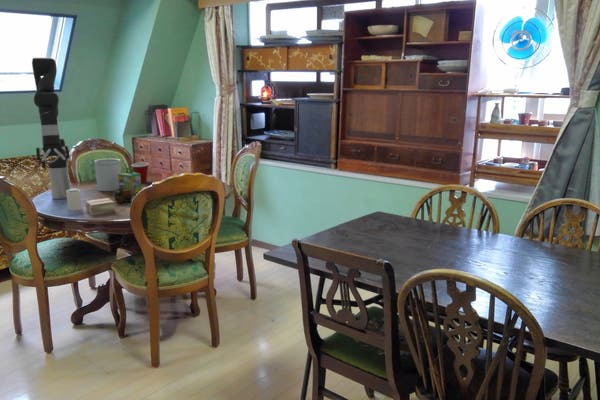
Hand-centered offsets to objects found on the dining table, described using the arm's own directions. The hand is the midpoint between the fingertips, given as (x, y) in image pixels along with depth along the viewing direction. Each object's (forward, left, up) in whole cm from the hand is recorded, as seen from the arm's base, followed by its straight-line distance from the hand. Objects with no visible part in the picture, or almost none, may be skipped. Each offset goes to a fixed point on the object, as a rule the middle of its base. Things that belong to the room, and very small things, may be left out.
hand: (54, 168), depth 242 cm
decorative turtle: (-24, +22, -23) cm, 40 cm away
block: (-4, +19, -22) cm, 29 cm away
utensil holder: (-55, 0, -23) cm, 60 cm away
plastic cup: (-76, +11, -22) cm, 80 cm away
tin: (-7, +4, -22) cm, 24 cm away
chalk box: (-45, +17, -23) cm, 53 cm away
